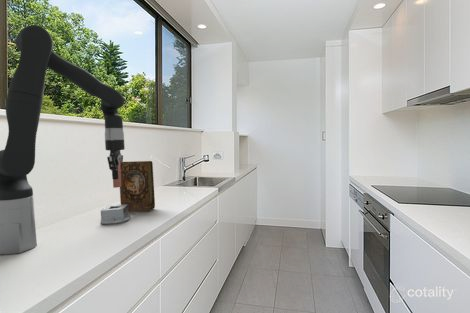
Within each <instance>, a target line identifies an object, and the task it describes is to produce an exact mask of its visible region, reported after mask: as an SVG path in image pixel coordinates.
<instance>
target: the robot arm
mask: <svg viewBox="0 0 470 313" xmlns="http://www.w3.org/2000/svg"><path fill="white" fill-rule="evenodd" d="M14 43H15V46H16V48H17V49H18V51H19V52H20V53H19V54H20V56H19V60H18V64H17V67H16V69H15V71H14V74H13V75H12V78H11V81H10V82H9V83H10V84H9V87H8V90H7V95H6V101H5V114H6V116H5V117H6V120H7V127H8V134H7V139H6V143H5V147H4V149H1V150H0V254H4V255H14V254H21V253H23V252H26V251H29V250H31V249H33V248H35V247H37V246H38V243H37V231H36V230H37V229H36V219H35V218H36V217H35V207H34V206H35V205H34V203H35V201H34V191H33V190H34V189H33V187H32V186H31V185H30V184H29V181H28V176H27V175H29V174H30V173H31V172H32V170H34V167H35V163H36V143H37V142H36V140H37V132H38V129H39V124H40V123H39V122H40V117H41V113H42V107H43V101H44V91H45V84H46V74H47V72H46V71H47V69H49V70H51V71H53V72H55V73H56V74H59V75H60V76H61V77H63V78H64V79H66V80H68V81H69V82H71V83H73V84H74V85H75V86H76V87H79V89H81V90H82V91H84V92H85V93H86V94H88V95H89V96H91V97H94V98H95V97H97V98H99V99H100V106H101V111H102V115H103V118H104V145H105V151H109V156H107V157H106V158H107V162H108V169H109V170H110V171H111V176H112V181H113V180H115V179H118V165H119V158H120V156H121V159H120V169H121V168H122V165H123V162H124V155H122V153H121V151H123V150H126V149H125V148H126V147H125V134H124V133H125V132H124V126H123V123H124V122H123V117H122V116H121V114H119V110H118V109H120V108H122V107H123V106H124V105H125V99H124V98H125V97H124V96H123V95H122V93H121V92H119V91H118V90H117V89H115V88H113V87H111V86H109V85H107V84H105V83H103V81H101V80H99V78H97V77H95V75H93V74H91V72H89V71H87V70H86V69H84V68H82V67H80V66H78V65H76V64H74V63H72V62H69V61H68V60H66V59H64V58H62V57H61V56H60V55H58V54H57V53H56V52H54V50H53V48H54V40H53V38H52V35H51V34H50V32H49V31H48V30H47V29H45V28H44V27H43V26H41V25H36V24H30V25H26V26H25V27H23V28H22V29H21V30H20V31H19V33H18V34H17V35H16V36H15V42H14ZM113 165H114V167H113Z"/></svg>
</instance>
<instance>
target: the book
mask: <svg viewBox="0 0 470 313" xmlns="http://www.w3.org/2000/svg"><path fill="white" fill-rule="evenodd" d="M153 166H154V164H153V161H151V160H144V161H143V160H141V161H140V160H138V161H135V160H134V161H123V165H122V168H121V187H119V196H120V198H119V199H120V205H124V204H128V210H129V213H138V212H139V213H143V212H144V213H145V212H147V213H148V212H150V211H151V210H154V209H155V207H156V202H155V201H156V200H155V184H154V168H153Z"/></svg>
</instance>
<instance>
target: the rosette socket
mask: <svg viewBox="0 0 470 313" xmlns="http://www.w3.org/2000/svg"><path fill="white" fill-rule="evenodd" d="M130 220H131V215H130V212H129V210H128V204H124V205H121V204H113V205H112V204H111V205H110V204H108V205H106V206H105V207H103V208H102V209H101V210H100V224H101V225H107V226H109V225H110V226H111V225H119V224H123V223H126V222H128V221H130Z"/></svg>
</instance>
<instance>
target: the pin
mask: <svg viewBox="0 0 470 313" xmlns="http://www.w3.org/2000/svg"><path fill="white" fill-rule="evenodd" d="M120 159H121V156H120V158H119V165H118V179H115V180H113V179H112V184H113V186H112V187H113V188H115V189H117V188H120V187H121V169H120ZM113 167H114V165H113Z"/></svg>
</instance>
